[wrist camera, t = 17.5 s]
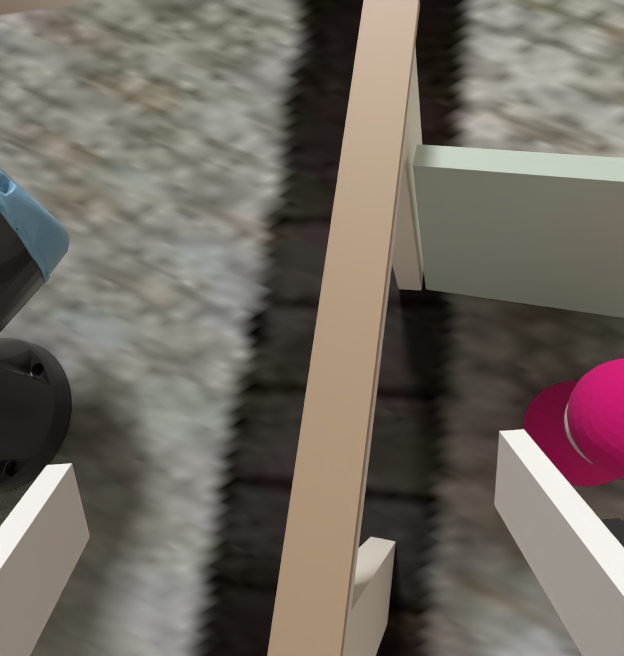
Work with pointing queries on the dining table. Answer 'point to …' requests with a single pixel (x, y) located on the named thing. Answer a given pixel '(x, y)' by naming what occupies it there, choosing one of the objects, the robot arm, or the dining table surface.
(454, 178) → the door
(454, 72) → the dining table surface
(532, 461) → the robot arm
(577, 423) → the pepper mill
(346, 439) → the door frame
